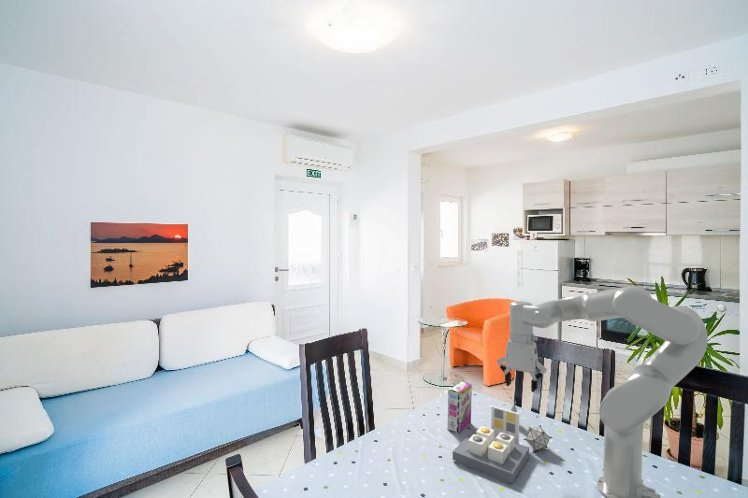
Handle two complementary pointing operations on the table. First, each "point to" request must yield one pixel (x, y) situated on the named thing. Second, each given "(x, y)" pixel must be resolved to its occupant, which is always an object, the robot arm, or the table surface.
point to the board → (491, 467)
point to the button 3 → (506, 441)
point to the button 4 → (498, 452)
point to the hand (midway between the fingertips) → (520, 387)
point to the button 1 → (486, 434)
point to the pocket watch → (514, 407)
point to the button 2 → (477, 445)
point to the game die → (537, 438)
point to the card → (505, 422)
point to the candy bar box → (459, 407)
